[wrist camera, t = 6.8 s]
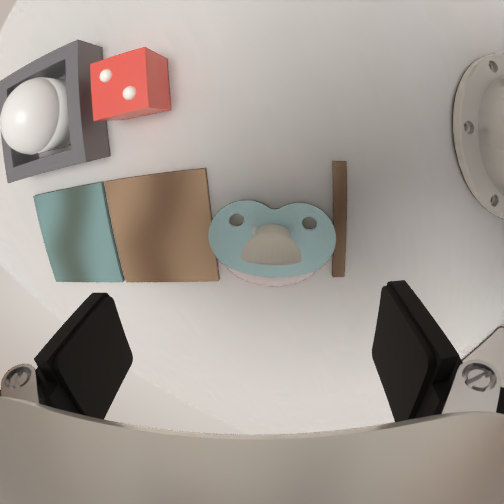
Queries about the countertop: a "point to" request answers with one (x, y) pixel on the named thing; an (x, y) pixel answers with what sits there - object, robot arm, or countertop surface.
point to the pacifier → (272, 242)
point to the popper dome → (36, 116)
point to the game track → (147, 228)
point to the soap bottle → (491, 352)
